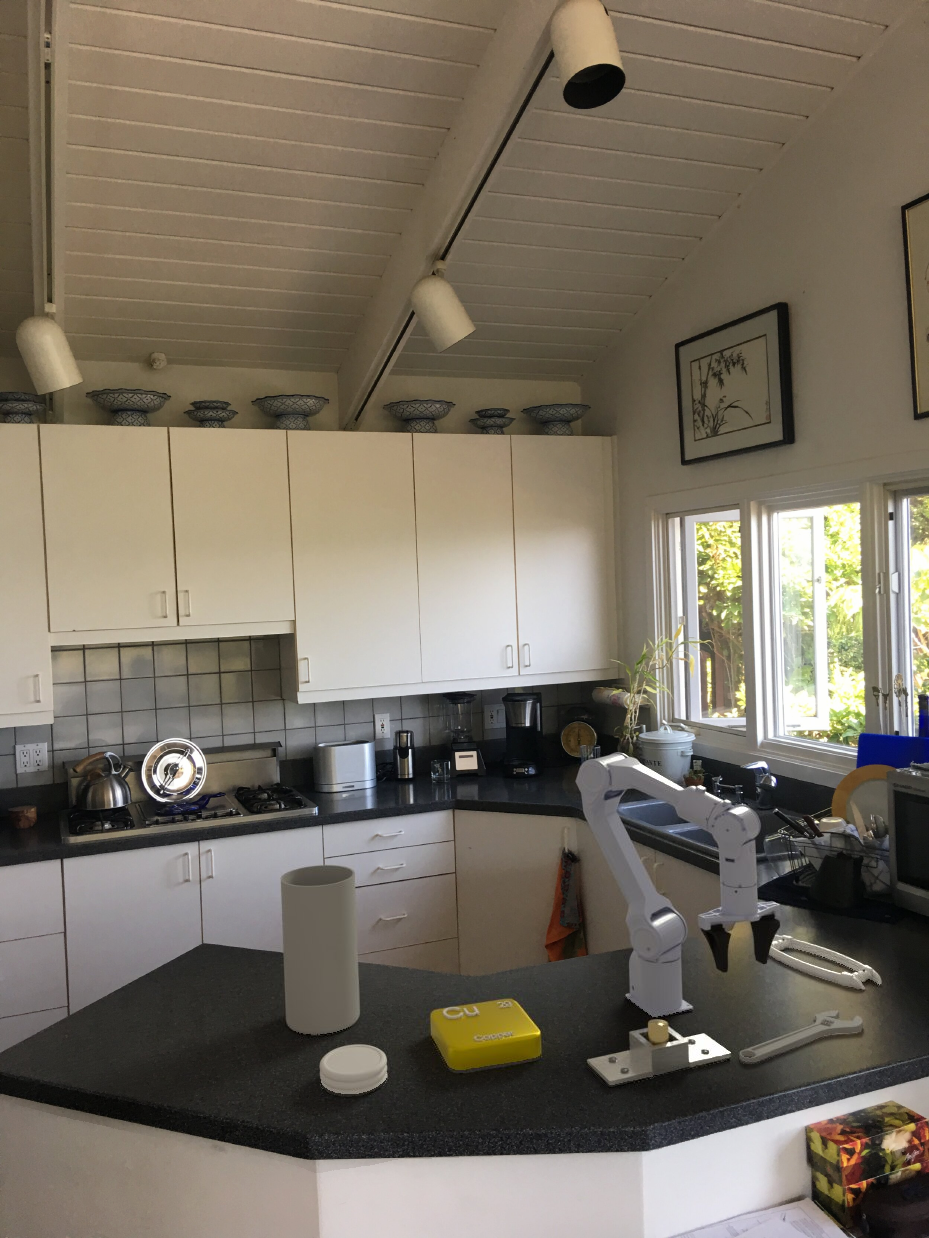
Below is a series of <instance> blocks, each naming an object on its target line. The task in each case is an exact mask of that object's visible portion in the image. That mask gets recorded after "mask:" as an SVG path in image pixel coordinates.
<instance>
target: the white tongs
mask: <svg viewBox="0 0 929 1238" xmlns="http://www.w3.org/2000/svg"><path fill="white" fill-rule="evenodd" d="M788 948H789V949H788ZM790 948H792V949H793V948H794V949H793V950H796V949H798V950H797V951H800V950H802V951H801V952H804V951H806V952H805V953H807V952H810V953H812V954H811V955H814V954H816V955H815V956H817V955H820V956H822V957H821V958H823V957H825V958H828V959H830V960H829V961H831V960H833V961H836V962H837V963H836V962H835V963H836V964H838V963H840V964H839V965H841V964H843V965H845V966H847V967H849V968H848V969H850V968H852V969H853V970H852V969H851V970H852V971H854V970H856V971H858V972H856V971H854V972H852V973H850V972H847V971H843V972H841V973H839V972H836V971H832V970H829V969H825V968H822V967H819V966H817V965H814V964H810V963H807V962H805V961H803V960H800V959H798V958H795V957H793V956H790V955H789V954H786V953H784V952H783V951H782V950H785V949H788V950H791V949H790ZM810 953H809V954H810ZM769 955H770V956H769V957H771V956H772V957H773V959H774V958H775V959H774V960H776V961H778V962H779V961H781V962H782V964H783V963H784V964H783V965H785V964H786V965H785V966H787V965H789V966H788V967H790V966H791V967H790V968H792V967H793V968H792V969H794V968H795V970H796V969H798V970H797V971H799V970H801V971H803V972H802V973H804V972H806V973H809V974H812V975H814V976H818V977H821V978H824V979H827V980H830V981H834V982H837V983H839V984H842V985H845V986H849V987H850V986H852V987H856V988H859V989H866V987H865V986H864V985H863V983H865V982H866V981H867V980H868V979H870V980H873V981H874V982H873V981H872V982H873V983H875V982H876V983H877V984H876V983H875V984H876V985H878V984H879V985H878V986H881V985H882V978H881V976H880V975H879V973H878V972H877V971H876V970H875V969H874V968H873V967H871V966H869V965H867V964H863V963H861V962H860V961H857V960H855V959H853V958H851V957H849V956H847V955H844V954H841V953H839V952H837V951H834V950H832V949H829V948H826V947H822V946H820V945H816V944H812V943H810V942H808V941H802V940H798V939H796V938H795V937H793V936H790V935H785V934H783V935H778V934H776V935H775V937H774V939H773V941H772V944H771V948H770V951H769ZM820 956H819V957H820ZM772 957H771V958H772ZM825 958H824V959H825ZM828 959H827V960H828ZM833 961H832V962H833ZM781 962H780V963H781ZM843 965H842V966H843ZM845 966H844V967H845ZM847 967H846V968H847ZM801 971H800V972H801ZM806 973H805V974H806ZM809 974H808V975H809ZM814 976H813V977H814ZM870 980H868V981H870ZM861 981H862V982H863V983H862V982H861ZM839 984H838V985H839ZM880 984H881V985H880ZM859 989H858V990H859Z"/></svg>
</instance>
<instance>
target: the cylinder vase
mask: <svg viewBox="0 0 929 1238" xmlns="http://www.w3.org/2000/svg"><path fill="white" fill-rule="evenodd" d="M280 893H281V895H280V897H281V923H282V925H281V926H282V950H283V972H284V973H283V974H284V978H283V979H284V998H285V999H284V1000H285V1001H284V1003H285V1005H284V1006H285V1021H286V1025H287V1027H288V1028H289V1029H291V1030H292V1031H294V1032H295V1031H296V1033H298V1032H299V1033H298V1034H301V1033H303V1034H302V1035H306V1034H311V1035H310V1036H321V1035H320V1034H327V1033H332V1034H334V1033H333V1032H336V1033H338V1032H337V1031H339V1032H341V1031H340V1030H342V1031H344V1030H343V1029H345V1030H346V1028H347V1029H349V1028H350V1027H352V1026H353V1025H355V1023H356V1022H357V1021H358V1019H359V1018H360V1014H361V1011H360V1010H361V1008H360V1007H361V1006H360V1005H361V1004H360V983H359V979H360V977H359V959H358V958H359V955H358V928H357V927H358V925H357V899H356V873H355V871H354V870H353V869H352V868H350V867H348V866H345V865H335V864H334V865H333V864H319V865H309V866H303V867H299V868H296V869H292V870H289V871H287V872H285V873H284V874H282V875H281V877H280ZM348 1027H349V1028H348ZM317 1034H318V1035H317ZM327 1035H328V1034H327Z"/></svg>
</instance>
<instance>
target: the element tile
mask: <svg viewBox="0 0 929 1238" xmlns="http://www.w3.org/2000/svg"><path fill="white" fill-rule="evenodd" d="M431 1036H432V1038H433V1039H434V1041H435V1043H436V1044H437V1046H438V1048H439V1050H440V1052H441V1054H442V1056H443V1057H444V1059H445V1061H446V1063H447V1065H448V1066H449V1067H450V1068H452V1069H455V1070H466V1069H471V1068H479V1067H484V1066H490V1065H497V1064H504V1063H510V1062H517V1061H523V1060H526V1059H532V1058H536V1057H538V1056H540V1054H541V1055H542V1033H541V1030H540V1029H539V1027H538V1026H537V1025H536V1024H535V1022H534V1021H533V1020H532V1019H531V1017H529V1015H528V1014H527V1012H526V1011H525V1010H524V1009H523V1007H521V1005H520V1004H519V1002H517V1000H514V999H513V998H503V999H495V1000H488V1001H482V1002H477V1003H471V1004H470V1003H469V1004H468V1003H467V1004H463V1005H456V1006H449V1007H443V1008H437V1009H433V1010H432V1011H431V1012H430V1037H431Z"/></svg>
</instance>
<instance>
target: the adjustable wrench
mask: <svg viewBox="0 0 929 1238" xmlns="http://www.w3.org/2000/svg"><path fill="white" fill-rule="evenodd" d="M838 1018H839V1019H838ZM812 1022H814V1023H812V1024H811V1025H808V1026H806V1027H805V1026H804V1027H803V1028H800V1029H797V1030H794V1031H792V1032H789V1033H787V1034H783V1035H781V1036H778V1037H776V1038H773V1039H770V1040H767V1041H764V1042H762V1043H759V1044H756V1045H753V1046H751V1047H747V1048H745V1049H742V1050H740V1051H739V1060H740V1059H741V1060H742V1061H745V1062H757V1061H760V1060H761V1059H764V1058H767V1057H768V1056H771V1055H774V1054H777V1053H779V1052H782V1051H785V1050H787V1049H790V1048H792V1047H794V1046H798V1045H800V1044H803V1043H805V1042H808V1041H811V1040H813V1039H816V1038H819V1037H821V1036H824V1035H829V1034H830V1035H832V1034H835V1033H852V1032H858V1031H860V1030H862V1028H863V1029H864V1025H863V1024H864V1023H863V1018H862V1017H861V1016H859V1015H855V1017H854V1018H853V1020H843V1019H840V1011H839V1010H826V1011H822V1012H820V1013H818V1014H817V1013H815V1014H814V1017H812ZM862 1031H863V1030H862ZM744 1056H752V1057H751V1058H749V1057H744Z"/></svg>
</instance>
